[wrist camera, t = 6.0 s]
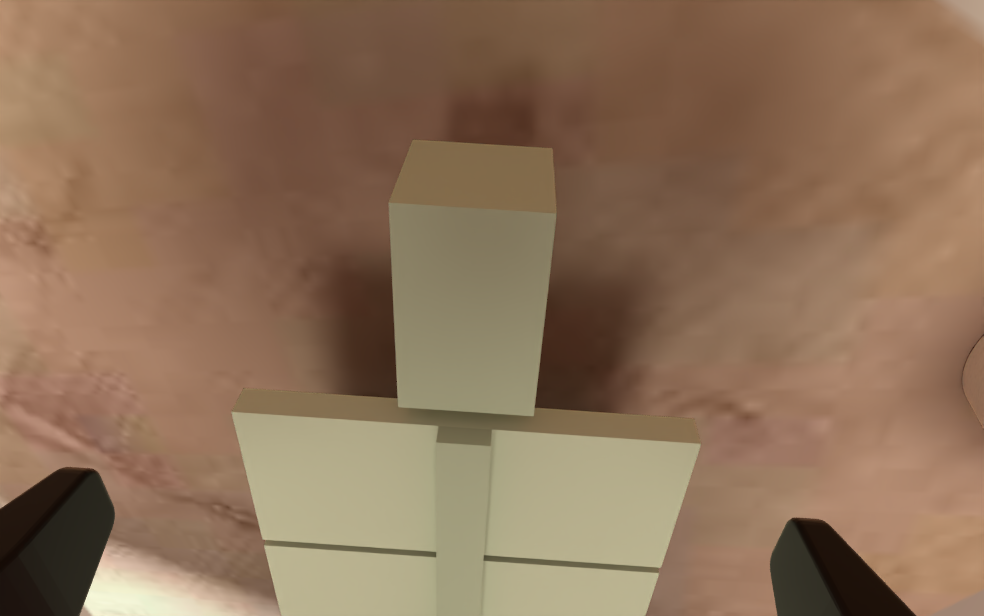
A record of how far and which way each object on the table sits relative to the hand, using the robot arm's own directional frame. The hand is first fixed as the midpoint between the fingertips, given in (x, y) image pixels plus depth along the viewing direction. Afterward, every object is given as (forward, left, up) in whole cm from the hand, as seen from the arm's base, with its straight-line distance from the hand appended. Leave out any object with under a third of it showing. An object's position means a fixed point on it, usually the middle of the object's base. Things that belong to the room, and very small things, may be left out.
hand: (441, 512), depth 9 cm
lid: (-8, 0, -8) cm, 12 cm away
